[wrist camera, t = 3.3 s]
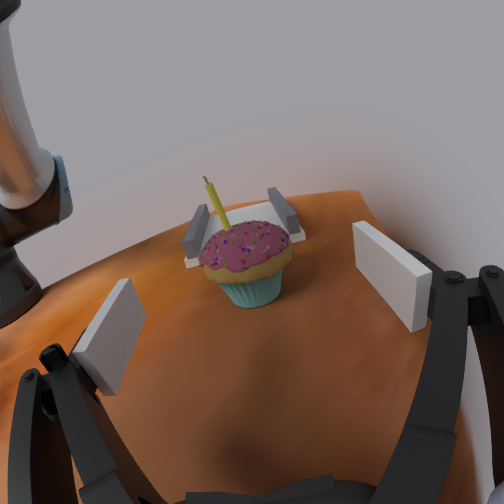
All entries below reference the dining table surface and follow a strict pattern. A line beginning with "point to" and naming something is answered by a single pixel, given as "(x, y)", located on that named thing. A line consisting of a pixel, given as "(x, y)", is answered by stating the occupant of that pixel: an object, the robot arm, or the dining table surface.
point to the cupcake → (246, 258)
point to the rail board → (269, 211)
